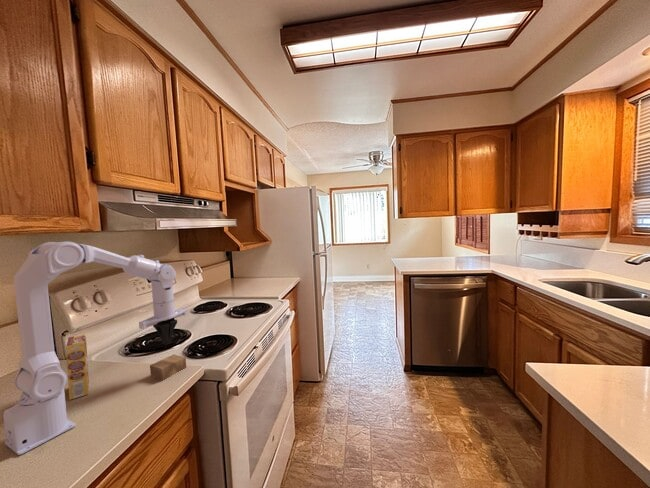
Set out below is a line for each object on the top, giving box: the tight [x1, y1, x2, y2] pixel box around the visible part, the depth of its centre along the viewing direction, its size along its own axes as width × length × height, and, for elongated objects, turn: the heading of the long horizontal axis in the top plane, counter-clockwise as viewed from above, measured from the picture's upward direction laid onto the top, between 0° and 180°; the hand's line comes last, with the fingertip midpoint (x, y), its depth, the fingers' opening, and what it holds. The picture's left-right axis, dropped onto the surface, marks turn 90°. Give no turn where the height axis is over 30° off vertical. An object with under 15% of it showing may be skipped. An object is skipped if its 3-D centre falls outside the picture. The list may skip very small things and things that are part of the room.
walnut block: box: [149, 354, 187, 382], centre depth 89 cm, size 4×6×8 cm
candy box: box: [65, 333, 90, 400], centre depth 80 cm, size 9×4×15 cm, turn 39°
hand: (166, 343), depth 89 cm, fingers closed
